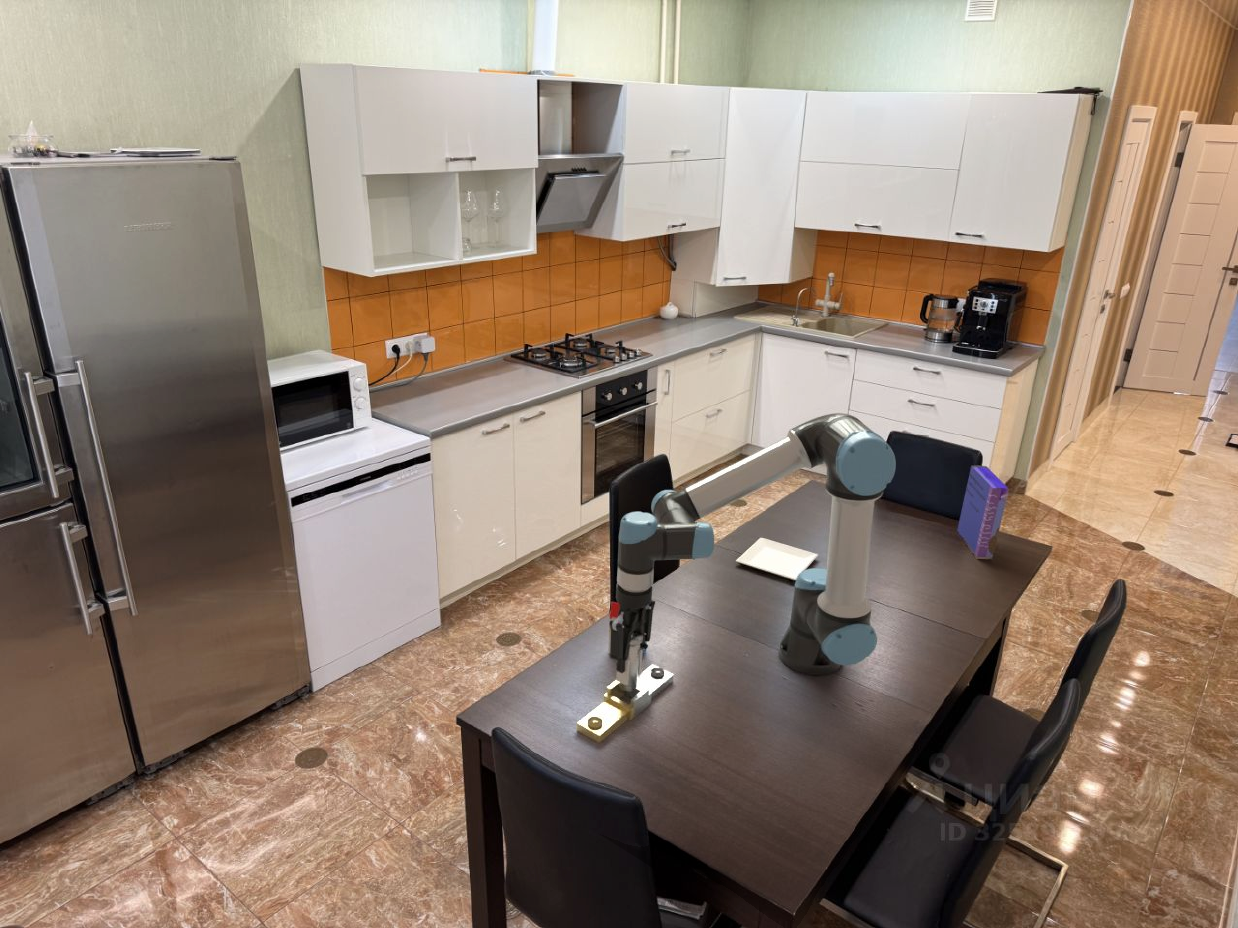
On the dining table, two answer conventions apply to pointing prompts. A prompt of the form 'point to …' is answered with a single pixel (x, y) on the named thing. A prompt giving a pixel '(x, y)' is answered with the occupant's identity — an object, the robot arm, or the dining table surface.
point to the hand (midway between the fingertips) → (628, 677)
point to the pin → (633, 662)
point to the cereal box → (982, 510)
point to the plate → (777, 558)
